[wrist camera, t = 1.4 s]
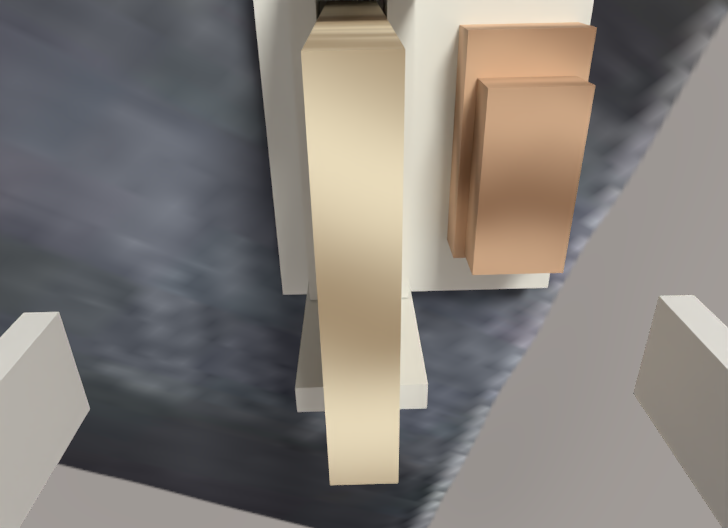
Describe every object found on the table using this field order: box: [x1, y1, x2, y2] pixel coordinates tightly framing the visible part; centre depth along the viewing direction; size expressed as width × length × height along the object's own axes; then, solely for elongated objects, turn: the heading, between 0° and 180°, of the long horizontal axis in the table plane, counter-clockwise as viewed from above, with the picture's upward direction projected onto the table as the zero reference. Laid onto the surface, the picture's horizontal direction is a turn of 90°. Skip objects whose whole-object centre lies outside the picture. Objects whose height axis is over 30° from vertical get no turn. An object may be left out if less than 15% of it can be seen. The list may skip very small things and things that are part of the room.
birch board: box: [301, 0, 405, 485], centre depth 20 cm, size 12×2×14 cm, turn 1°
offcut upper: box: [464, 76, 595, 275], centre depth 24 cm, size 8×4×2 cm, turn 1°
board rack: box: [253, 0, 594, 412], centre depth 23 cm, size 16×14×11 cm
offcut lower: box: [447, 22, 597, 258], centre depth 25 cm, size 10×5×2 cm, turn 1°
